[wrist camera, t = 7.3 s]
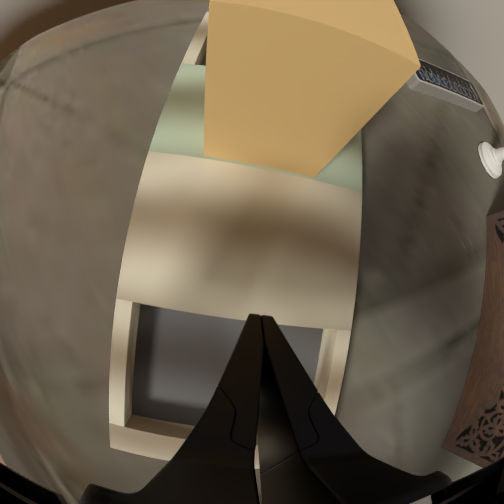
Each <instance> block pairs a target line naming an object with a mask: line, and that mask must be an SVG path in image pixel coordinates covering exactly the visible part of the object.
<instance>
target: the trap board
mask: <svg viewBox="0 0 504 504" xmlns="http://www.w3.org/2000/svg"><path fill="white" fill-rule="evenodd" d="M208 17H209V9H208V10H207V12H206V14H205V16H204V18H203V20H202V22H201V24H200V26H199V28H198V30H197V32H196V34H195V36H194V38H193V40H192V42H191V44H190V46H189V48H188V50H187V52H186V55H185V57H184V59H183V61H182V63H181V66H180V68H179V70H178V73H177V75H176V77H175V80H174V82H173V85H172V87H171V90H170V92H169V95H168V97H167V100H166V103H165V105H164V108H163V111H162V113H161V116H160V119H159V122H158V125H157V127H156V130H155V133H154V136H153V139H152V143H151V146H150V149H149V152H148V155H147V159H146V162H145V165H144V169H143V172H142V176H141V179H140V183H139V187H138V191H137V195H136V198H135V202H134V207H133V211H132V215H131V219H130V224H129V229H128V233H127V238H126V243H125V248H124V254H123V259H122V265H121V271H120V277H119V283H118V290H117V297H116V305H115V313H114V322H113V333H112V344H111V359H110V380H109V430H110V447H111V448H115V449H118V450H122V451H126V452H130V453H134V454H138V455H143V456H147V457H152V458H157V459H162V460H168V461H170V460H171V459H172V457H173V456H174V455H175V454H176V452H177V451H178V450H179V448H180V447H181V446H182V444H183V443H184V441H185V440H186V438H187V437H188V436H189V434H190V433H191V431H192V430H193V428H194V427H195V425H196V424H197V422H198V421H199V419H200V418H201V416H202V415H203V413H204V411H205V410H206V408H207V406H208V404H209V402H210V400H211V398H212V396H213V394H214V392H215V390H216V388H217V386H218V383H219V381H220V379H221V377H222V374H223V372H224V370H225V368H226V365H227V363H228V361H229V358H230V356H231V354H232V352H233V349H234V347H235V345H236V342H237V340H238V338H239V336H240V333H241V331H242V329H243V326H244V324H245V322H246V319H247V317H248V315H249V314H250V313H252V314H259V315H260V316H261V315H268V316H272V317H273V318H274V319H275V321H276V323H277V324H278V326H279V328H280V329H281V331H282V333H283V334H284V336H285V338H286V339H287V341H288V343H289V344H290V346H291V348H292V349H293V351H294V352H295V354H296V356H297V357H298V359H299V361H300V362H301V364H302V366H303V367H304V369H305V370H306V372H307V374H308V375H309V377H310V379H311V380H312V382H313V383H314V385H315V387H316V388H317V390H318V392H319V393H320V395H321V396H322V398H323V400H324V401H325V403H326V404H327V406H328V407H329V409H330V410H331V412H332V413H333V414H334V416H335V412H336V408H337V403H338V399H339V394H340V390H341V385H342V380H343V375H344V370H345V364H346V359H347V353H348V347H349V341H350V334H351V328H352V321H353V313H354V305H355V297H356V288H357V278H358V266H359V254H360V238H361V217H362V142H361V129H360V130H359V131H358V133H357V134H356V135H355V136H354V137H353V138H352V139H351V140H350V141H349V142H348V143H347V144H346V145H345V146H344V147H343V148H342V149H341V150H340V151H339V152H338V153H337V155H336V156H335V157H334V158H333V159H332V160H331V161H330V162H329V163H328V164H327V165H326V166H325V167H324V168H323V169H322V170H321V171H320V172H319V173H318V175H317V176H316V177H315V178H314V177H310V176H306V175H301V174H297V173H293V172H288V171H284V170H279V169H274V168H269V167H264V166H259V165H254V164H249V163H244V162H238V161H233V160H227V159H221V158H215V157H208V156H204V105H205V72H206V50H207V32H208ZM318 392H317V393H318ZM255 469H260V466H259V453H258V441H257V438H256V449H255Z"/></svg>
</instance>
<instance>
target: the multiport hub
mask: <svg viewBox="0 0 504 504" xmlns="http://www.w3.org/2000/svg"><path fill="white" fill-rule="evenodd" d="M419 62H420V65H421V67H420V68H419V69H418V70H417V71H416V72H415V73H414V74H413V75H412V76H411V77H410V78H409V79H408V80H407V81H406V83H407V85H408V87H409V88H410V89H411V90H414V91H417V92H420V93H424V94H427V95H430V96H433V97H436V98H439V99H442V100H445V101H448V102H450V103H453V104H456V105H458V106H461V107H463V108H466V109H468V110H471V111H473V112H477V111H478V110H480V109H481V108H482V107H484V105H483V103H482V101H481V99H480V97H479V95H478V93H477V91H476V90H475V88H474V86H473V84H472V83H471V82H469V81H468V80H466V79H464V78H462V77H459V76H457V75H455V74H453V73H451V72H449V71H447V70H444V69H442V68H440V67H437V66H435V65H433V64H430V63H428V62H425V61H423V60H420V59H419Z"/></svg>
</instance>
